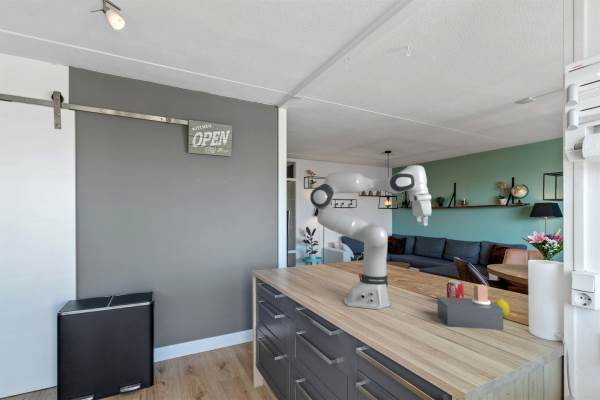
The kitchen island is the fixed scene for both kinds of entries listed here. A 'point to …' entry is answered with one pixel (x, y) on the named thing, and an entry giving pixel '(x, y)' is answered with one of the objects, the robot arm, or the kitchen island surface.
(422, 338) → the kitchen island surface
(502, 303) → the lemon
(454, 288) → the soda can
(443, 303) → the block
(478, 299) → the pink white square peg
